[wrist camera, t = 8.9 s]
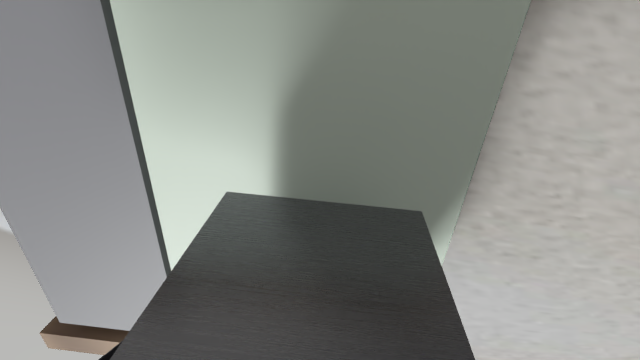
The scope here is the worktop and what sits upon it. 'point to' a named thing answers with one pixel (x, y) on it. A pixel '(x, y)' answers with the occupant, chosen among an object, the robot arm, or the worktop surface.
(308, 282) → the block
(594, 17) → the worktop surface
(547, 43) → the worktop surface
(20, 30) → the trapdoor
